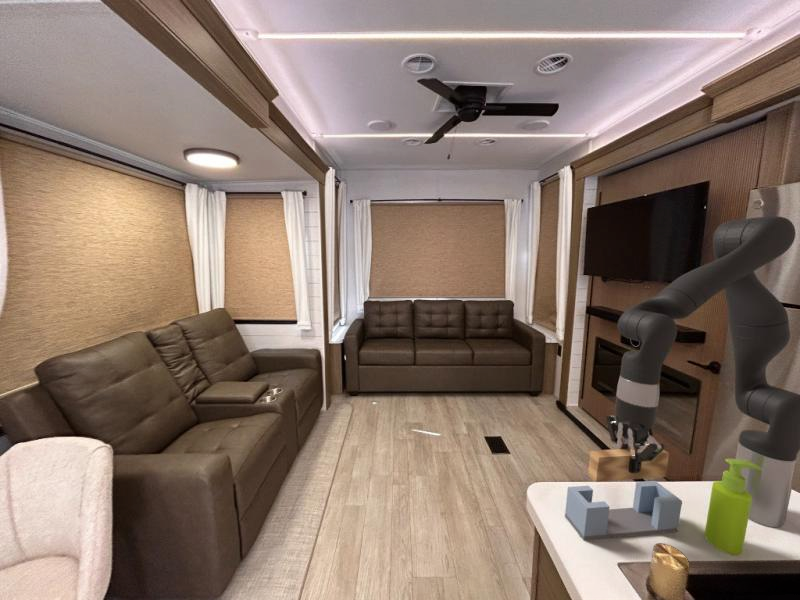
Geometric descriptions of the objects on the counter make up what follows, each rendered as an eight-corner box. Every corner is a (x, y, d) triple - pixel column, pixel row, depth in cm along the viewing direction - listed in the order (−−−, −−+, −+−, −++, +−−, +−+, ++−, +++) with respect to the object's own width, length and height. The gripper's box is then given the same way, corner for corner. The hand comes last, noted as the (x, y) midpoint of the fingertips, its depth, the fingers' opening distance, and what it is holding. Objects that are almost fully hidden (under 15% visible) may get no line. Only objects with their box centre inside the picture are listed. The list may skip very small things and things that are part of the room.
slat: (655, 469, 74) (658, 446, 73) (665, 476, 72) (669, 453, 71) (587, 474, 72) (590, 450, 71) (596, 481, 69) (598, 457, 69)
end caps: (651, 509, 78) (655, 480, 77) (677, 531, 72) (682, 500, 71) (564, 516, 75) (567, 486, 74) (583, 540, 69) (587, 508, 68)
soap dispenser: (755, 558, 65) (772, 473, 63) (717, 552, 67) (732, 468, 64) (732, 535, 71) (746, 455, 69) (697, 529, 72) (710, 451, 70)
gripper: (682, 412, 63) (671, 488, 65) (625, 385, 77) (617, 449, 79) (650, 413, 62) (640, 491, 64) (598, 386, 76) (591, 450, 78)
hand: (627, 467), depth 71 cm, fingers closed on slat, 2 cm apart
